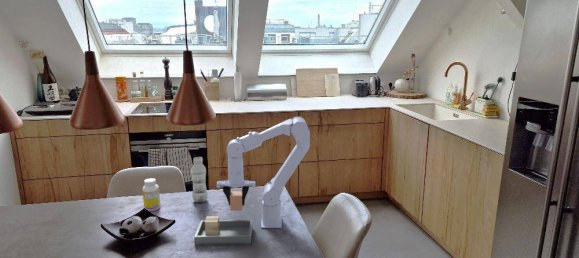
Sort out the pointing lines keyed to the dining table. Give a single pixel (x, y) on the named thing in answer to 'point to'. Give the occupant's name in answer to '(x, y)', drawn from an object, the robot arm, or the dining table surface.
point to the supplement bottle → (151, 195)
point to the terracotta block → (236, 201)
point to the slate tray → (226, 233)
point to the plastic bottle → (199, 180)
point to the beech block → (212, 226)
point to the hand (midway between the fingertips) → (236, 204)
